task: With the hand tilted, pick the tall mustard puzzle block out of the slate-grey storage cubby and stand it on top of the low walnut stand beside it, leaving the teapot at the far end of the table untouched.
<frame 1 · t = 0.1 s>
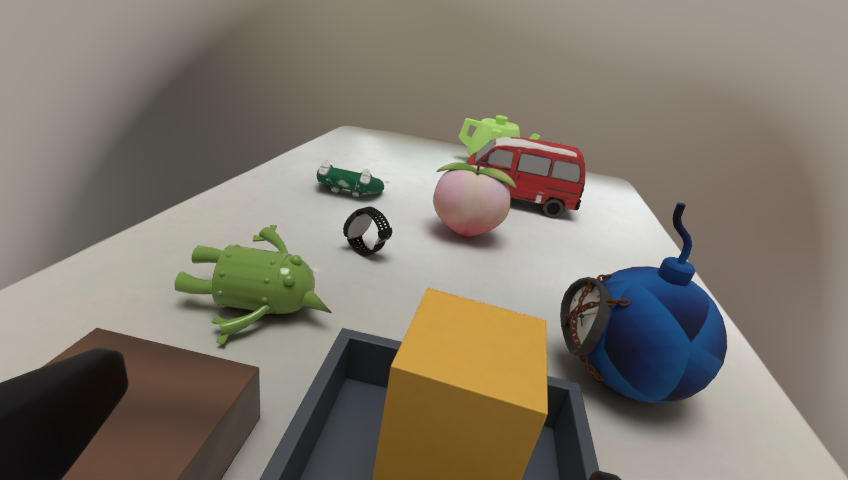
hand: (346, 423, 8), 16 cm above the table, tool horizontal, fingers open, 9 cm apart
walnut stand: (118, 470, 22), on the table
toy car: (513, 203, 68), on the table
teapot: (490, 167, 84), on the table
character figure: (263, 308, 35), on the table
bomb: (614, 381, 34), on the table
decorative fruit: (462, 236, 54), on the table
gaming controller: (347, 193, 60), on the table
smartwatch: (363, 255, 46), on the table
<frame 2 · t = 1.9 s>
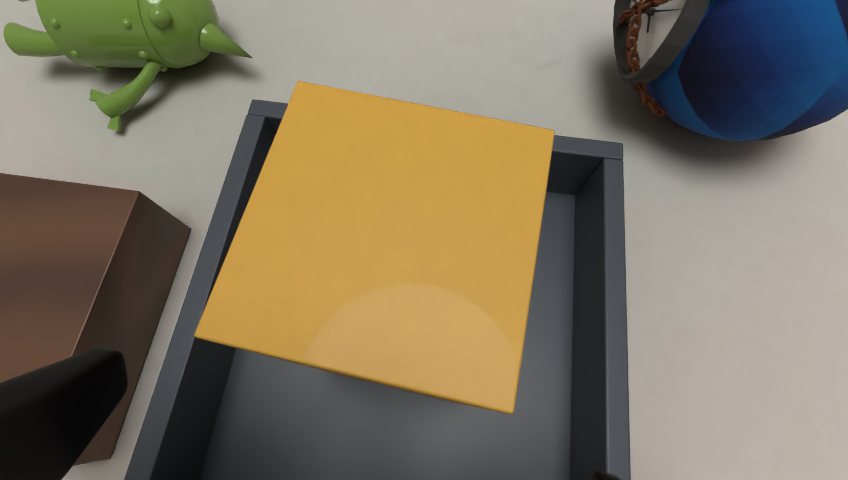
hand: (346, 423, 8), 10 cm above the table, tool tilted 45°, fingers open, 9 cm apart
walnut stand: (46, 317, 19), on the table
puzzle block: (408, 320, 18), point 1 cm above the table, touching cubby
character figure: (164, 56, 24), on the table
cubby: (408, 322, 19), on the table
bomb: (682, 100, 23), on the table
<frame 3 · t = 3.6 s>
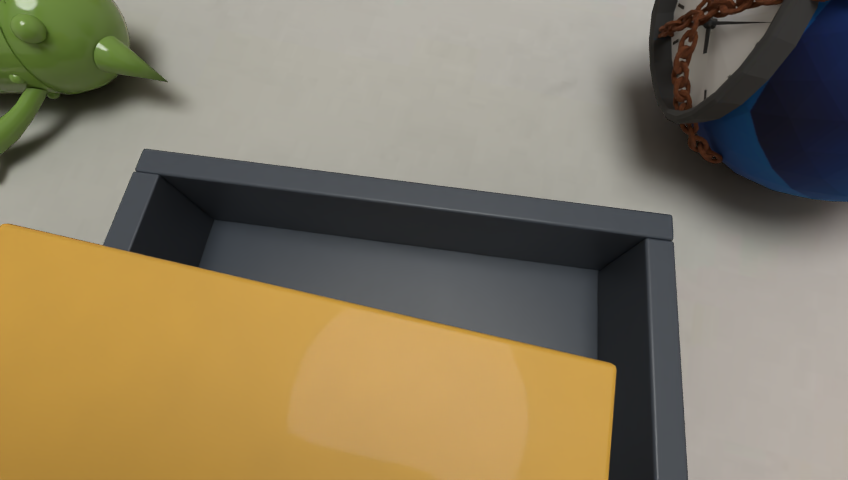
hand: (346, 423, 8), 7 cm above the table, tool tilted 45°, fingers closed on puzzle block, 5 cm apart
puzzle block: (366, 458, 13), point 1 cm above the table, touching cubby, gripper
character figure: (66, 76, 19), on the table
cubby: (368, 455, 14), on the table
bomb: (734, 135, 18), on the table
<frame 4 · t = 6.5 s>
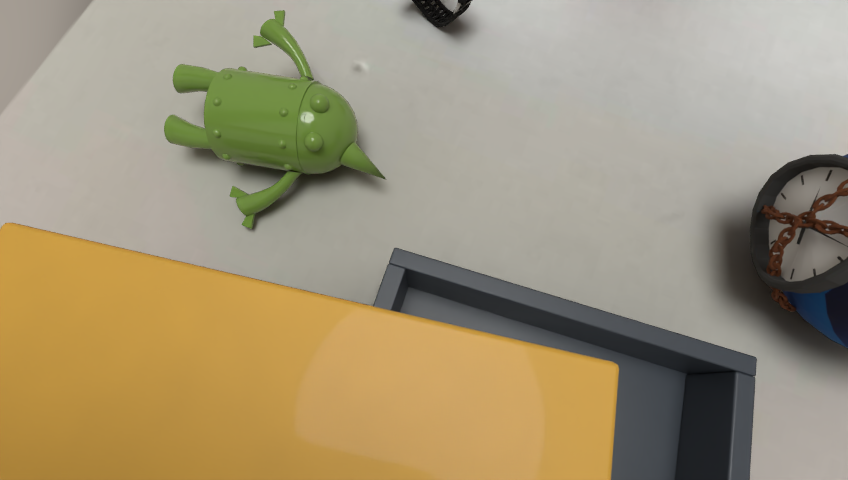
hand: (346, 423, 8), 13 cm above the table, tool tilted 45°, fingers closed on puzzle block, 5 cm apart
puzzle block: (366, 457, 13), point 7 cm above the table, touching gripper
character figure: (296, 150, 25), on the table
cubby: (506, 478, 20), on the table
bomb: (805, 279, 23), on the table
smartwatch: (436, 21, 29), on the table
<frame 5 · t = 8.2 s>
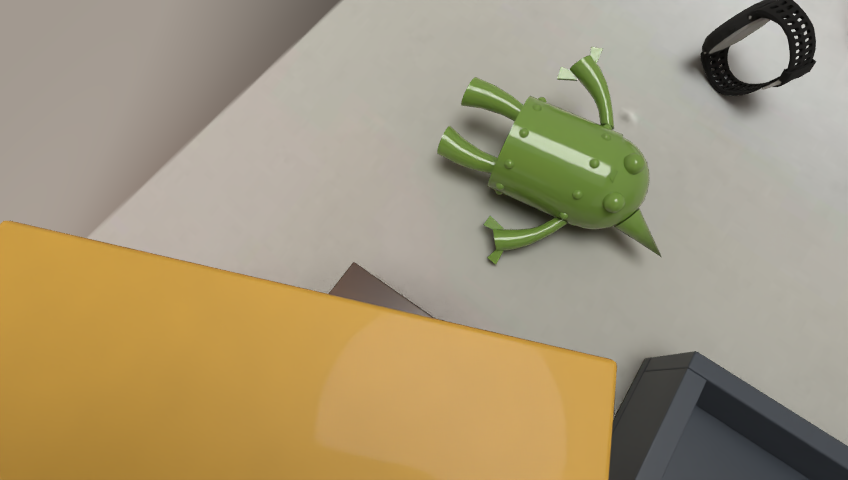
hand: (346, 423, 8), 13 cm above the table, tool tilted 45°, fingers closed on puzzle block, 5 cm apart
walnut stand: (385, 433, 19), on the table
puzzle block: (366, 457, 13), point 7 cm above the table, touching gripper
character figure: (547, 190, 24), on the table
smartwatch: (717, 86, 26), on the table
when the fingers open (10 cm above the table, at t = 9.5 s): puzzle block stays where it is, resting on walnut stand.
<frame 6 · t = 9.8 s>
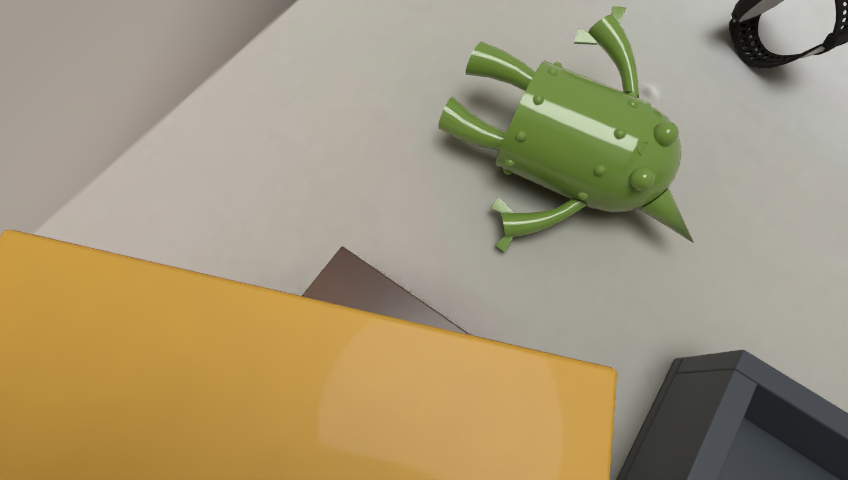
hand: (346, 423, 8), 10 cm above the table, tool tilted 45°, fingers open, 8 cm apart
walnut stand: (379, 445, 17), on the table
puzzle block: (366, 459, 13), point 4 cm above the table, touching walnut stand
character figure: (561, 171, 21), on the table
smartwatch: (746, 59, 24), on the table
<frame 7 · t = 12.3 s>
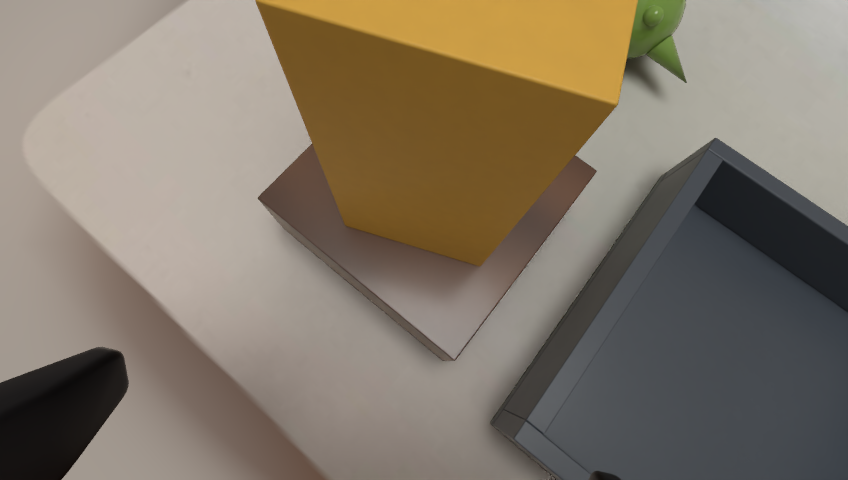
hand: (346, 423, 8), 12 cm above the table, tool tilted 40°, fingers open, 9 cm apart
walnut stand: (426, 215, 21), on the table
puzzle block: (432, 183, 18), point 4 cm above the table, touching walnut stand
character figure: (584, 32, 25), on the table
cubby: (722, 393, 20), on the table
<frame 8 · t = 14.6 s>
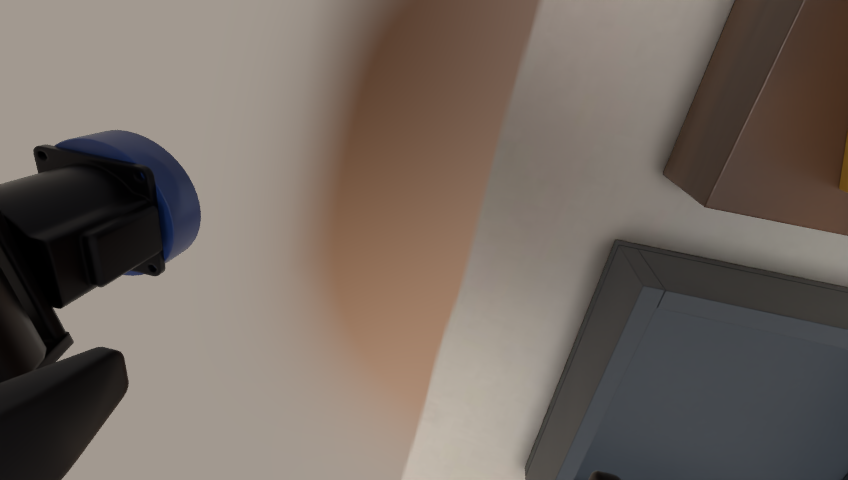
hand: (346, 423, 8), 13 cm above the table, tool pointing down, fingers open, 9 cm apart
cubby: (715, 406, 22), on the table
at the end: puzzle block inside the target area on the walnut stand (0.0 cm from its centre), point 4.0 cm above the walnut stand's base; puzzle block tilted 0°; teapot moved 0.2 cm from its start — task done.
